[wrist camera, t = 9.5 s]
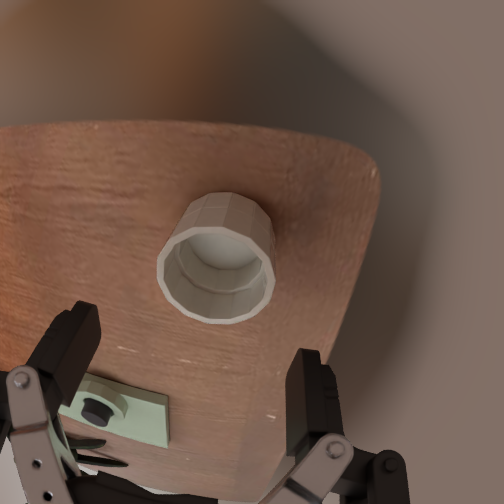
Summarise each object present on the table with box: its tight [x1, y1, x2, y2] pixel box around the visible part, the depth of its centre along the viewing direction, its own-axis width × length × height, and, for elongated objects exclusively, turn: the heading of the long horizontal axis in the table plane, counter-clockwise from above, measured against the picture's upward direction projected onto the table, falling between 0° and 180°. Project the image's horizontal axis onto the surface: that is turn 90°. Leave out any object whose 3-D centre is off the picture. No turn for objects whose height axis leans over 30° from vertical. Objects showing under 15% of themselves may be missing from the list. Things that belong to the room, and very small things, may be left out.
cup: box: [157, 192, 276, 324], centre depth 18 cm, size 6×6×5 cm
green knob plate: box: [58, 373, 170, 448], centre depth 32 cm, size 17×14×3 cm
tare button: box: [81, 398, 112, 427], centre depth 28 cm, size 3×3×2 cm
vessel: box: [7, 423, 129, 476], centre depth 41 cm, size 19×12×25 cm
